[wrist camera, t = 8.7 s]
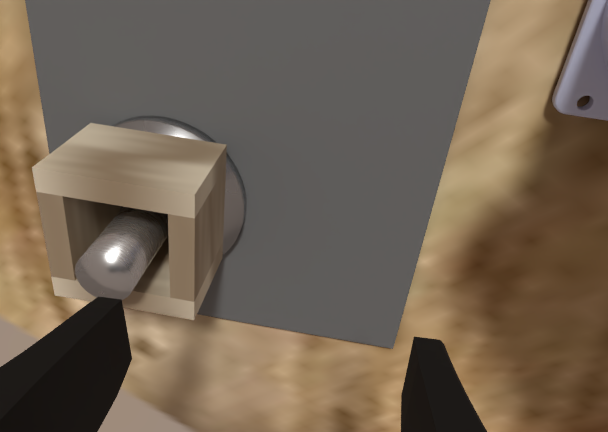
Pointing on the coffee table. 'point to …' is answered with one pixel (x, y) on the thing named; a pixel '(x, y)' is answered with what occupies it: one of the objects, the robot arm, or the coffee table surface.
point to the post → (149, 225)
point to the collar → (140, 195)
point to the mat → (285, 132)
